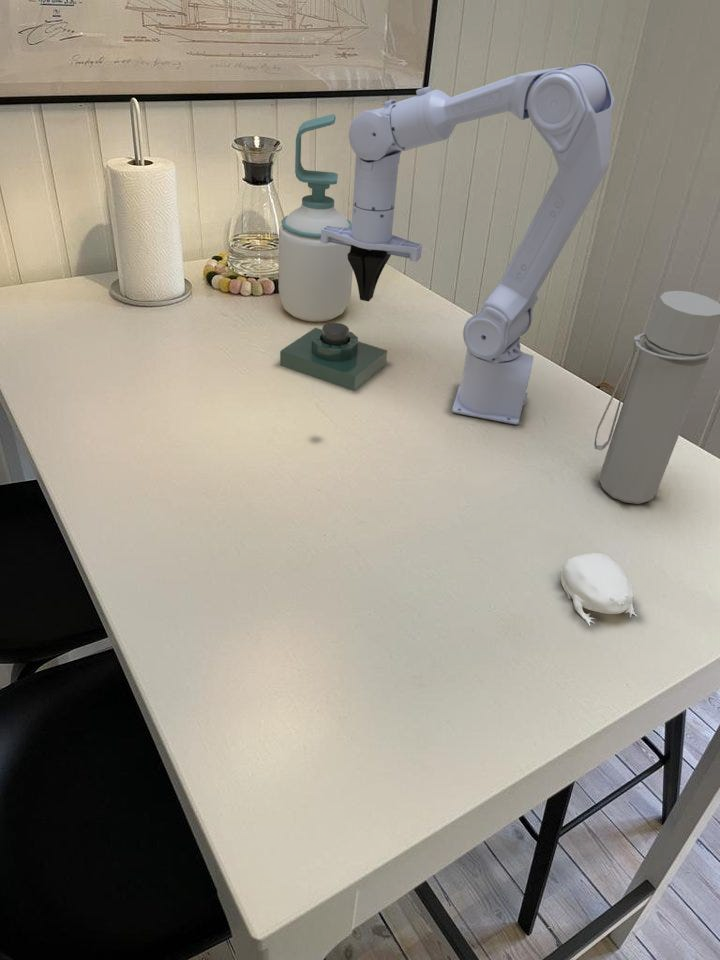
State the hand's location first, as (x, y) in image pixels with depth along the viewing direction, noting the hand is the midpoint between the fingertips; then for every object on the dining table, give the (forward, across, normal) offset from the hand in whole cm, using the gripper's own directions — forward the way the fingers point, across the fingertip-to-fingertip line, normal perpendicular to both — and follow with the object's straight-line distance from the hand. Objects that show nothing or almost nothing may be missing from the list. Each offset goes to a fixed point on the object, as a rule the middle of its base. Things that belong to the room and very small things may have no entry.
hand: (366, 298), depth 111 cm
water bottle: (+11, -41, +16) cm, 45 cm away
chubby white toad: (+11, -40, +37) cm, 56 cm away
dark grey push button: (+6, +3, +3) cm, 8 cm away
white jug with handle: (+10, +14, -13) cm, 22 cm away
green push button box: (+10, +3, +3) cm, 11 cm away
